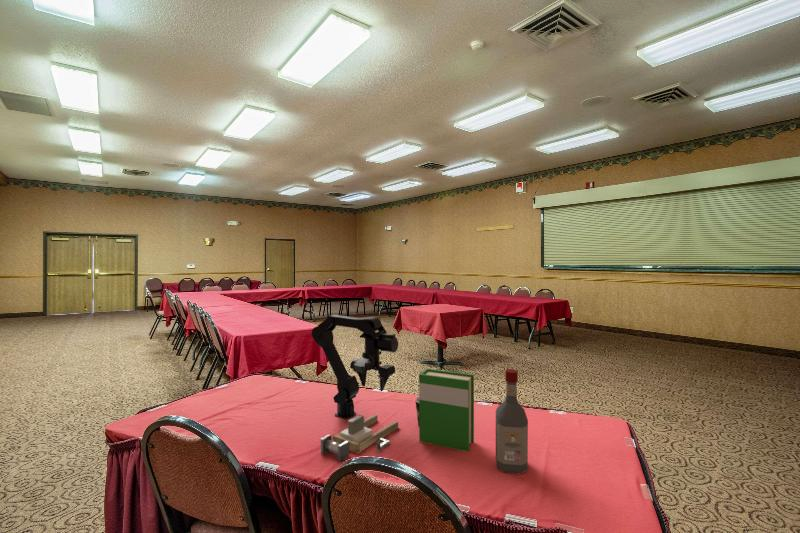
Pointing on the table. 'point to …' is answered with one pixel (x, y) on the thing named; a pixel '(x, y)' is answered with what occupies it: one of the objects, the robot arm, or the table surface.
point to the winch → (335, 447)
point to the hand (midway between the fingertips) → (372, 388)
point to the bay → (370, 440)
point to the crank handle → (381, 443)
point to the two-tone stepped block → (356, 430)
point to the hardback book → (446, 408)
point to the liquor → (511, 430)
